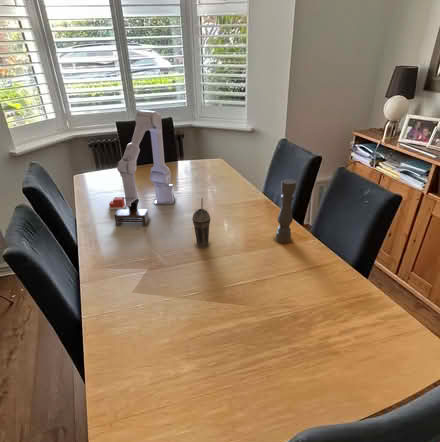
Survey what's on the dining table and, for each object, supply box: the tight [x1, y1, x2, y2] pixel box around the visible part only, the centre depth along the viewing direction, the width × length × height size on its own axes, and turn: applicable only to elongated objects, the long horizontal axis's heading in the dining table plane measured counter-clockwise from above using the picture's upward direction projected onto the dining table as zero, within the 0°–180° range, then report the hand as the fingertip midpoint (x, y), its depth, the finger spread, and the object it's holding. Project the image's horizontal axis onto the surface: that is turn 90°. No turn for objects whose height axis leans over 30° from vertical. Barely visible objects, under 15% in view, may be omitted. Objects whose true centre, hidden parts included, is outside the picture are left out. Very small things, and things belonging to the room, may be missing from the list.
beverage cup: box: [192, 197, 211, 249], centre depth 144 cm, size 7×7×20 cm
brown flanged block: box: [113, 208, 150, 226], centre depth 167 cm, size 14×7×5 cm, turn 88°
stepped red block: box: [108, 196, 127, 210], centre depth 181 cm, size 7×4×5 cm, turn 88°
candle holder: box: [275, 178, 297, 244], centre depth 145 cm, size 6×6×25 cm
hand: (134, 215), depth 172 cm, fingers closed
